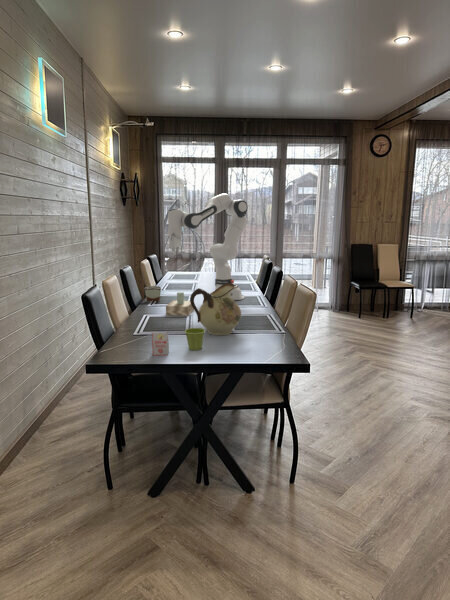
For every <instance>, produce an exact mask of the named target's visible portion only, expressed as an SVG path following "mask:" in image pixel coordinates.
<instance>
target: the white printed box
mask: <svg viewBox="0 0 450 600" xmlns="http://www.w3.org/2000/svg"><path fill="white" fill-rule="evenodd" d="M151 333H152V337H151V348H152V350H151V352H152V356H155V357H156V356H159V357H160V356H169V354H170V350H169V349H170V348H169V347H170V345H169V344H170V343H169V333H168V332H151Z"/></svg>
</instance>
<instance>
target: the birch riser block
mask: <svg viewBox="0 0 450 600" xmlns="http://www.w3.org/2000/svg"><path fill="white" fill-rule="evenodd" d="M194 311H195V310H194V309H193V307H192V305H191V302H190V300H184V304H177V300H171V301H170V302H169V303H168V304H167V305H165V316H184V315H185V317H186V316H187V317H188V316H189V315H191V313H192V312H194Z"/></svg>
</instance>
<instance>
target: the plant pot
mask: <svg viewBox="0 0 450 600" xmlns="http://www.w3.org/2000/svg"><path fill="white" fill-rule="evenodd" d="M205 332H206V329H205V328H200V327H192V328H187V329H185V330H184V333H185V336H186V340H187V345H188V350H190V351H198V350H199V351H200V350H202V349H203V342H204V335H205Z"/></svg>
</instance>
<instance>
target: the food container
mask: <svg viewBox="0 0 450 600" xmlns="http://www.w3.org/2000/svg"><path fill="white" fill-rule="evenodd" d="M143 290H144V292H145V298H146V299H145V300H146V302H149V303H151V301H158V302H157V303H160V302H161V292H162V288H161V286H157V285H156V286H155V285H153V286H145V287H144V288H143Z"/></svg>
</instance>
